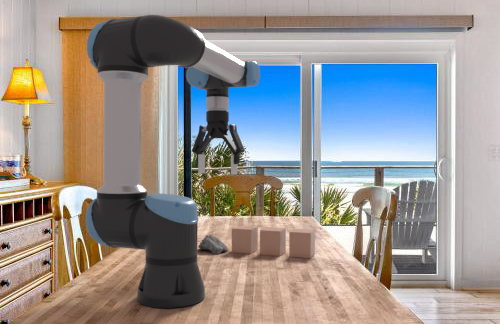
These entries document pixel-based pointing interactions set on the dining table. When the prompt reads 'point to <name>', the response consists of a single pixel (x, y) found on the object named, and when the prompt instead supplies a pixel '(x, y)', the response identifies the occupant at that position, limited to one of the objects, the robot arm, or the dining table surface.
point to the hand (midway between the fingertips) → (217, 174)
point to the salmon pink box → (301, 243)
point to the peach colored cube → (244, 239)
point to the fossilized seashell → (213, 245)
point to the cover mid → (272, 241)
